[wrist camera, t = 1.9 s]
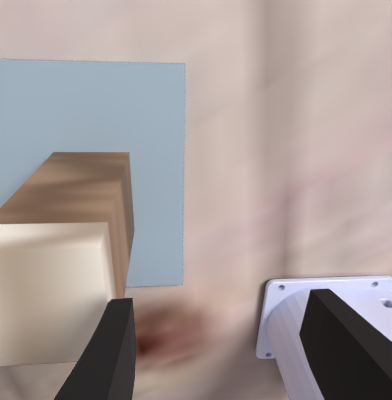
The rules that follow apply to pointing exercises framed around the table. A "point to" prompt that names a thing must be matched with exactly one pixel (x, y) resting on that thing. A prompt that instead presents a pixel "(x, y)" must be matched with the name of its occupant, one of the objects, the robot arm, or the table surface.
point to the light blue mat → (105, 141)
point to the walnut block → (63, 255)
